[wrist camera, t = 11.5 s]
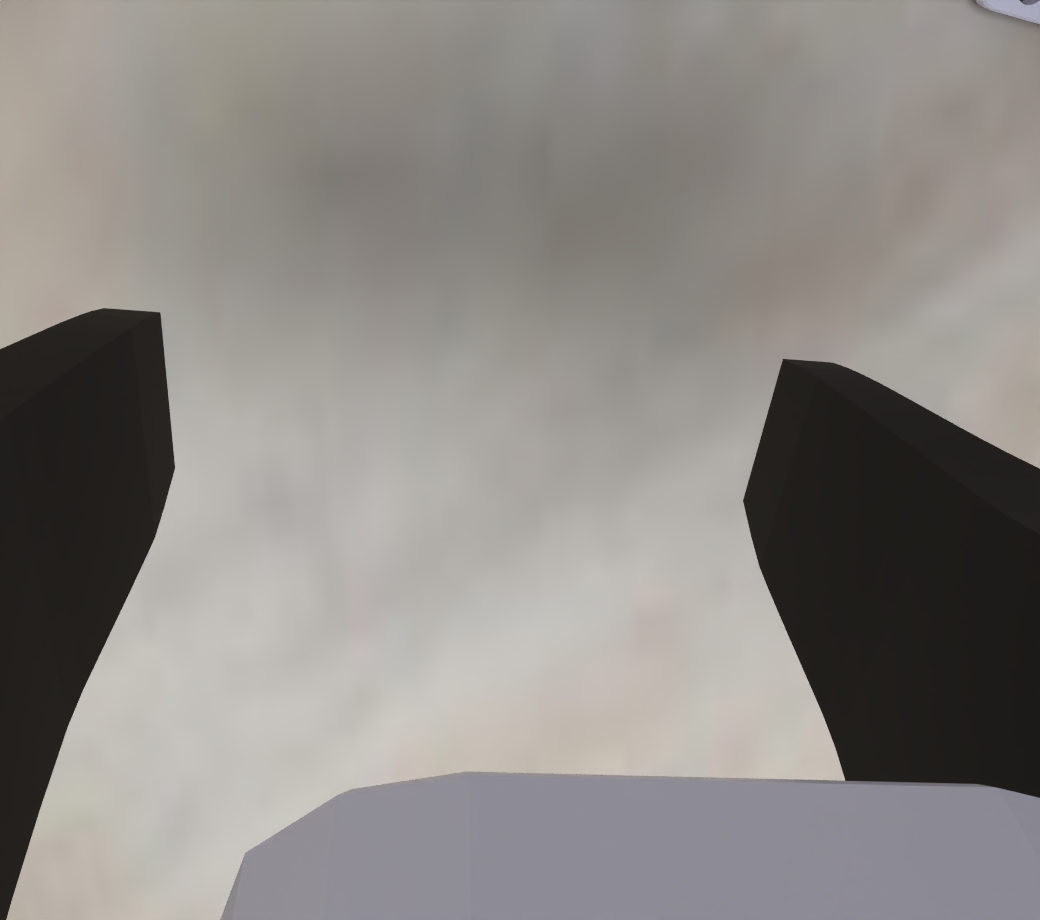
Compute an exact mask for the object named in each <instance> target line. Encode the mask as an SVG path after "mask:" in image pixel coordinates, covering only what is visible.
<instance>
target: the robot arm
mask: <svg viewBox="0 0 1040 920" xmlns="http://www.w3.org/2000/svg"><path fill="white" fill-rule="evenodd" d="M976 2H977V4H978V5H980V6H982V7H983V8H985V9H988V10H991V11H995V12H998V13H1002V14H1005V15H1009V16H1012V17H1016V18H1019V19H1023V20H1026V21H1030V22H1034V23H1037V24H1040V0H1024V1H1022V2H1020V0H976ZM174 470H175V464H174V453H173V442H172V432H171V421H170V410H169V400H168V389H167V379H166V368H165V357H164V347H163V336H162V326H161V315H160V312H147V311H133V310H120V309H106V308H103V309H99V310H95V311H91V312H88V313H85V314H82V315H79V316H76V317H74V318H71V319H69V320H66V321H64V322H61V323H59V324H57V325H54V326H52V327H50V328H47V329H45V330H43V331H41V332H38V333H36V334H34V335H32V336H29V337H27V338H25V339H23V340H20V341H18V342H16V343H13V344H11V345H9V346H7V347H4V348H2V349H0V920H6V918H7V915H8V911H9V908H10V904H11V901H12V897H13V894H14V891H15V888H16V884H17V881H18V878H19V875H20V872H21V868H22V865H23V862H24V859H25V855H26V852H27V849H28V846H29V843H30V839H31V836H32V833H33V830H34V827H35V823H36V820H37V817H38V814H39V810H40V807H41V804H42V801H43V798H44V795H45V792H46V789H47V786H48V784H49V781H50V778H51V775H52V772H53V769H54V766H55V763H56V760H57V757H58V754H59V751H60V748H61V745H62V742H63V739H64V736H65V733H66V730H67V727H68V725H69V722H70V720H71V717H72V715H73V713H74V710H75V708H76V705H77V703H78V701H79V698H80V696H81V693H82V691H83V689H84V687H85V685H86V682H87V680H88V678H89V676H90V674H91V672H92V670H93V668H94V666H95V664H96V661H97V659H98V657H99V655H100V653H101V651H102V649H103V647H104V645H105V643H106V641H107V638H108V636H109V634H110V632H111V630H112V628H113V626H114V624H115V622H116V620H117V617H118V615H119V613H120V611H121V609H122V607H123V605H124V603H125V601H126V599H127V597H128V594H129V592H130V590H131V588H132V586H133V584H134V582H135V579H136V577H137V575H138V573H139V571H140V569H141V567H142V564H143V562H144V560H145V558H146V556H147V554H148V551H149V549H150V547H151V545H152V543H153V540H154V538H155V535H156V532H157V529H158V526H159V522H160V519H161V516H162V513H163V509H164V506H165V502H166V499H167V495H168V491H169V488H170V484H171V481H172V477H173V473H174ZM743 502H744V506H745V511H746V515H747V519H748V524H749V528H750V532H751V537H752V541H753V544H754V548H755V552H756V555H757V559H758V563H759V566H760V569H761V571H762V574H763V576H764V579H765V581H766V584H767V586H768V589H769V591H770V593H771V596H772V598H773V600H774V603H775V605H776V608H777V610H778V612H779V615H780V617H781V619H782V622H783V624H784V626H785V629H786V631H787V633H788V635H789V638H790V640H791V642H792V645H793V647H794V649H795V651H796V654H797V656H798V658H799V661H800V663H801V665H802V668H803V670H804V672H805V674H806V677H807V679H808V681H809V684H810V686H811V688H812V690H813V693H814V695H815V697H816V700H817V702H818V704H819V707H820V709H821V711H822V713H823V716H824V719H825V721H826V724H827V727H828V729H829V732H830V734H831V737H832V740H833V742H834V745H835V748H836V751H837V754H838V757H839V761H840V764H841V767H842V771H843V774H844V777H845V781H830V780H788V779H747V778H706V777H665V776H624V775H582V774H541V773H500V772H461V773H454V774H448V775H441V776H435V777H428V778H422V779H415V780H409V781H402V782H396V783H389V784H383V785H376V786H370V787H363V788H357V789H352V790H349V791H347V792H344V793H342V794H339V795H337V796H336V797H334V798H332V799H331V800H329V801H328V802H326V803H324V804H323V805H321V806H320V807H318V808H316V809H315V810H313V811H312V812H310V813H308V814H307V815H305V816H304V817H302V818H300V819H299V820H297V821H296V822H294V823H292V824H291V825H289V826H288V827H286V828H284V829H283V830H281V831H280V832H278V833H276V834H275V835H273V836H272V837H270V838H268V839H267V840H265V841H264V842H262V843H261V844H259V845H257V846H256V847H254V848H253V849H251V850H249V851H248V852H246V853H245V855H244V858H243V861H242V863H241V866H240V869H239V871H238V874H237V877H236V879H235V882H234V885H233V887H232V890H231V893H230V896H229V898H228V901H227V904H226V906H225V909H224V912H223V914H222V917H221V920H1040V469H1039V468H1037V467H1035V466H1033V465H1031V464H1029V463H1027V462H1025V461H1023V460H1021V459H1019V458H1017V457H1015V456H1013V455H1011V454H1009V453H1007V452H1005V451H1003V450H1001V449H999V448H997V447H995V446H994V445H992V444H990V443H988V442H986V441H984V440H982V439H980V438H978V437H977V436H975V435H973V434H971V433H969V432H967V431H965V430H964V429H962V428H960V427H958V426H956V425H955V424H953V423H951V422H949V421H947V420H945V419H944V418H942V417H940V416H938V415H936V414H935V413H933V412H931V411H929V410H927V409H926V408H924V407H922V406H920V405H919V404H917V403H915V402H913V401H911V400H909V399H908V398H906V397H904V396H902V395H900V394H899V393H897V392H895V391H893V390H891V389H889V388H888V387H886V386H884V385H882V384H880V383H878V382H876V381H874V380H872V379H870V378H868V377H866V376H864V375H862V374H860V373H858V372H856V371H853V370H851V369H849V368H846V367H843V366H841V365H838V364H835V363H829V362H816V361H803V360H789V359H783V361H782V365H781V368H780V372H779V375H778V379H777V382H776V386H775V390H774V393H773V397H772V400H771V404H770V407H769V411H768V414H767V418H766V422H765V425H764V429H763V432H762V436H761V439H760V443H759V446H758V450H757V453H756V457H755V461H754V464H753V468H752V471H751V475H750V478H749V482H748V485H747V489H746V493H745V496H744V500H743Z"/></svg>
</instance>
